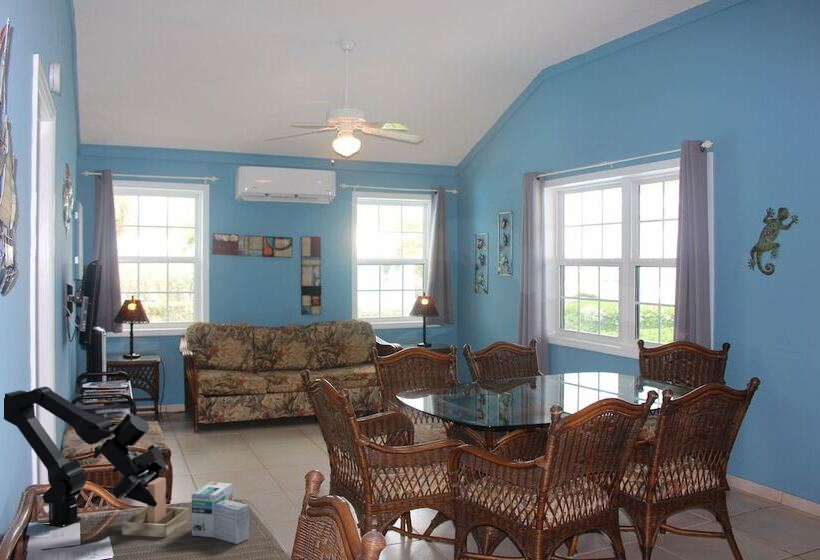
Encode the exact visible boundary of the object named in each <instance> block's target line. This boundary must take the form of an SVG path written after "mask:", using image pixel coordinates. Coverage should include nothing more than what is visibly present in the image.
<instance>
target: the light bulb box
mask: <svg viewBox="0 0 820 560" xmlns="http://www.w3.org/2000/svg"><path fill="white" fill-rule="evenodd" d="M225 500H230V501H234V484H233V483H229V482H228V483H226V482H218V481H217V482H215V481H210V482H209V483H207V484H205V485H203V487H200V488H199V489H197V490H196V491H193V492H191V536H193V537H194V536H195V537H206V538H214V505H215V504H217V503H219V502H222V501H225Z"/></svg>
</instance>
